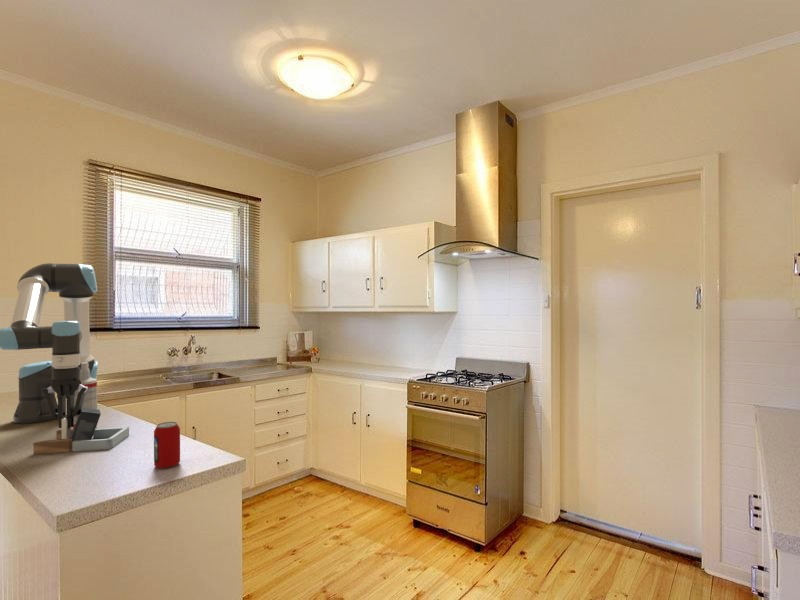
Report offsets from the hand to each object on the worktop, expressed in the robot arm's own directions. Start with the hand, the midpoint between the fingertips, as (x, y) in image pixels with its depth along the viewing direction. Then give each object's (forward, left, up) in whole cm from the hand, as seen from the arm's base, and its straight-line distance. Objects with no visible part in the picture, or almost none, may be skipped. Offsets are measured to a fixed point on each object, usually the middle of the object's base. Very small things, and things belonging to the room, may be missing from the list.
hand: (66, 437), depth 149 cm
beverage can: (+28, +39, -3) cm, 48 cm away
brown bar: (0, -1, -3) cm, 3 cm away
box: (-1, +4, -2) cm, 4 cm away
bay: (0, +11, -3) cm, 11 cm away
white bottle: (-21, -4, -3) cm, 22 cm away
